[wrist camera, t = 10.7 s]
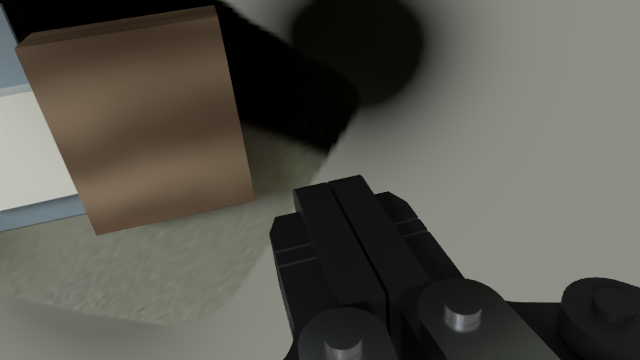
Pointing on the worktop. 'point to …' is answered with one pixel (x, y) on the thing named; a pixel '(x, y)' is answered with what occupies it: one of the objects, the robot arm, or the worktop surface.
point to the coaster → (28, 153)
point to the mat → (7, 71)
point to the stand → (142, 115)
